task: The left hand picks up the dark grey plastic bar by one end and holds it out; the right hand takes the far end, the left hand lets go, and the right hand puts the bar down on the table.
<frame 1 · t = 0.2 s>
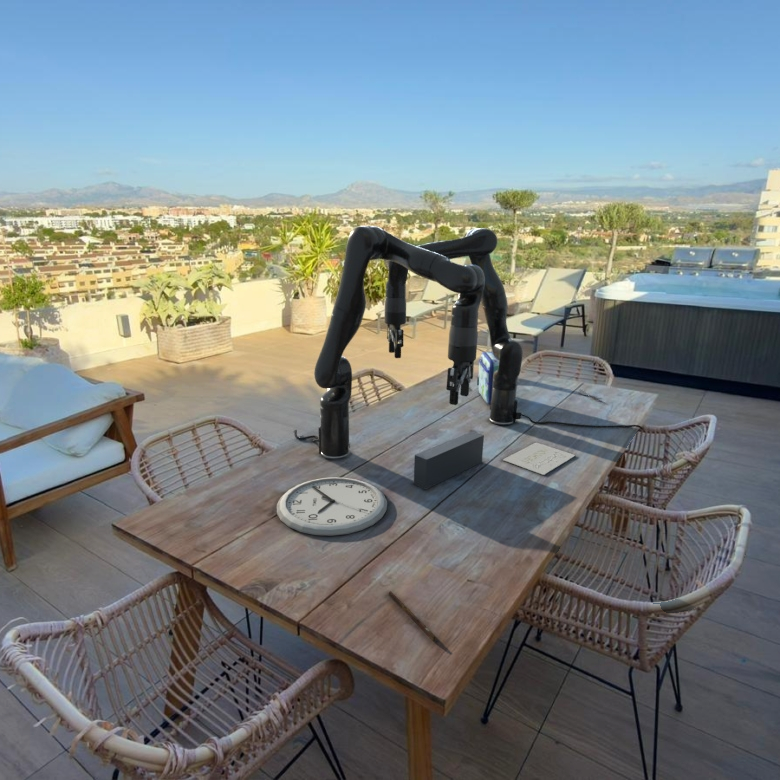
left hand: (459, 399, 143), 28 cm above the table, tool pointing down, fingers open, 8 cm apart
right hand: (394, 355, 187), 29 cm above the table, tool pointing down, fingers open, 8 cm apart
lunch box: (491, 399, 234), on the table
bar: (449, 472, 163), on the table
wall clock: (332, 505, 143), on the table
invitation card: (539, 458, 174), on the table
dark brown stick: (410, 617, 102), on the table
fork: (590, 397, 238), on the table
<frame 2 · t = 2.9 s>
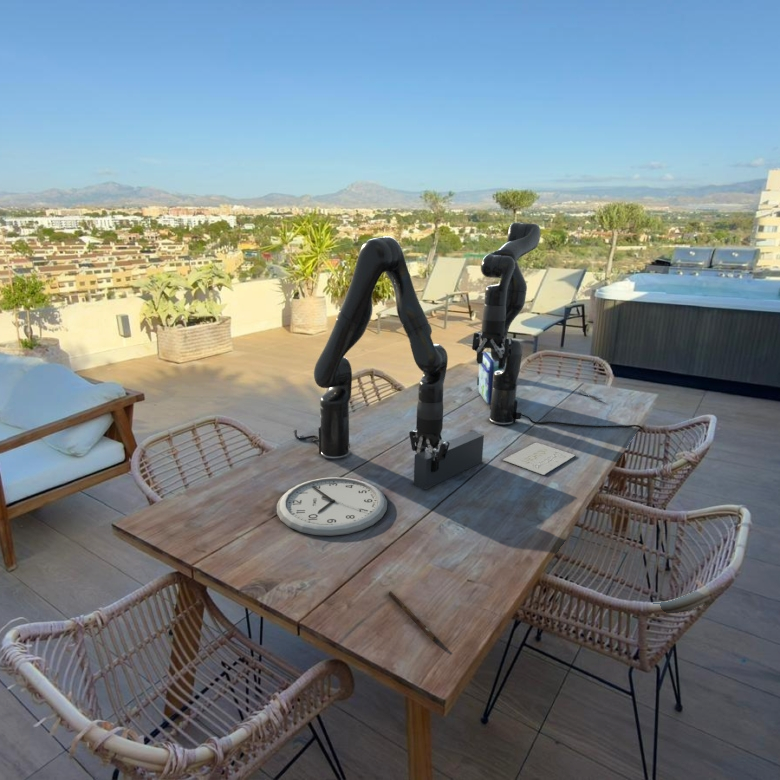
left hand: (427, 468, 155), 5 cm above the table, tool pointing down, fingers closed on bar, 4 cm apart
right hand: (490, 365, 176), 29 cm above the table, tool pointing down, fingers open, 8 cm apart
bar: (449, 472, 163), on the table, touching left hand
everything else where it was.
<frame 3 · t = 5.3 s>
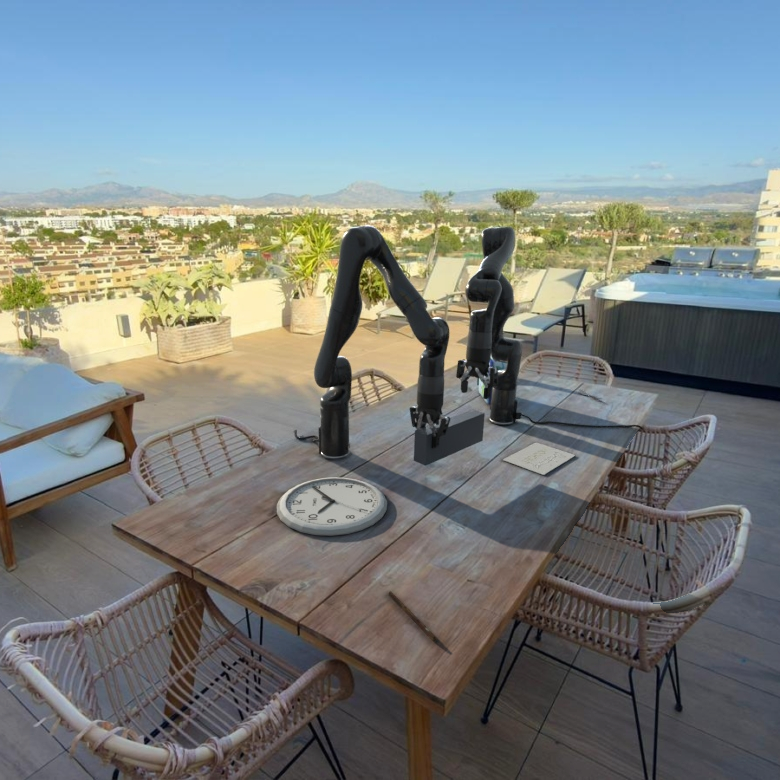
left hand: (427, 444, 153), 12 cm above the table, tool pointing down, fingers closed on bar, 4 cm apart
right hand: (475, 395, 165), 23 cm above the table, tool pointing down, fingers open, 8 cm apart
bar: (449, 450, 161), point 8 cm above the table, touching left hand
everything else where it was.
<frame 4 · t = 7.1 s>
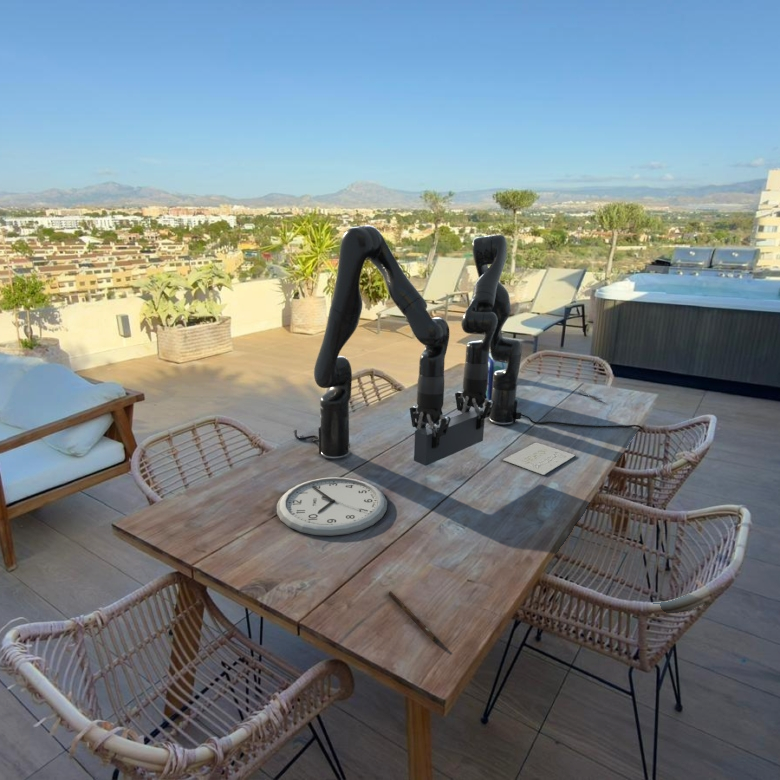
left hand: (428, 444, 152), 12 cm above the table, tool pointing down, fingers closed on bar, 4 cm apart
right hand: (472, 426, 167), 13 cm above the table, tool pointing down, fingers closed on bar, 4 cm apart
bar: (450, 450, 161), point 8 cm above the table, touching right hand, left hand
everything else where it was.
when the left hand's fingers open (12 cm above the table, at t = 8.1 s): bar stays where it is, held by the right hand.
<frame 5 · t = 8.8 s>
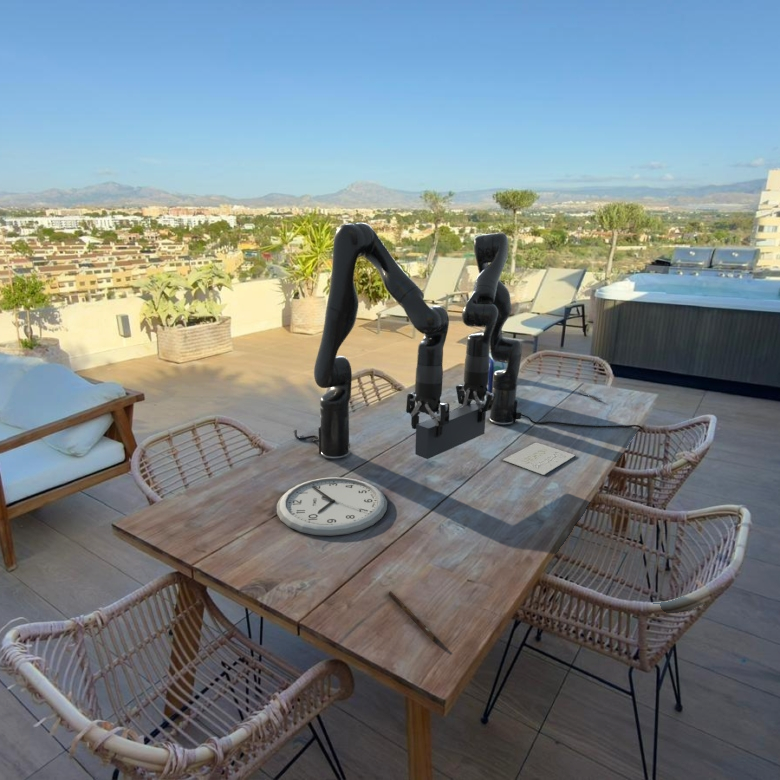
left hand: (426, 432, 151), 17 cm above the table, tool pointing down, fingers open, 8 cm apart
right hand: (473, 419, 166), 15 cm above the table, tool pointing down, fingers closed on bar, 4 cm apart
bar: (451, 443, 161), point 10 cm above the table, touching right hand
everything else where it was.
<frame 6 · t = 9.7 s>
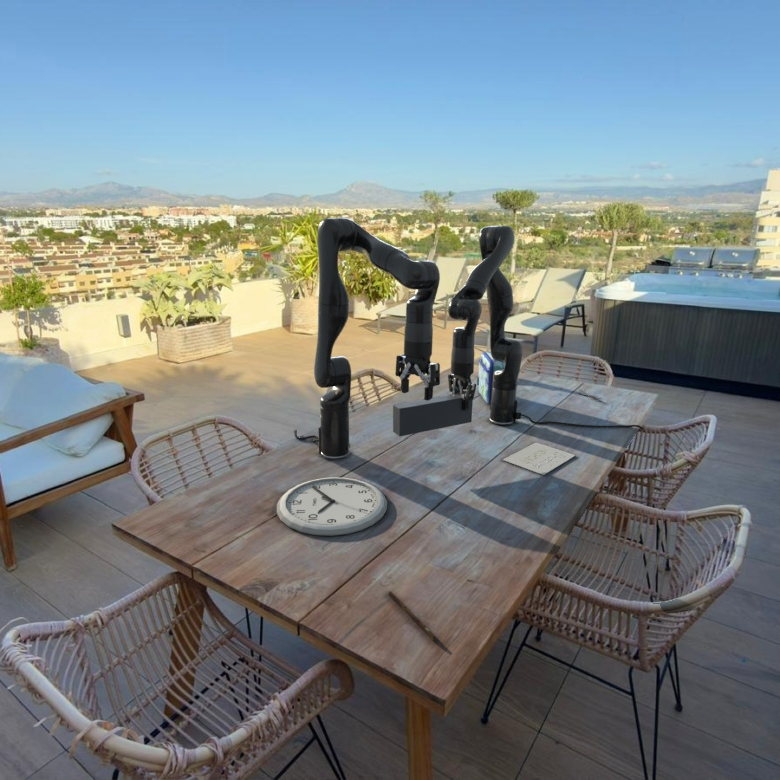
left hand: (416, 396, 144), 29 cm above the table, tool pointing down, fingers open, 8 cm apart
right hand: (460, 407, 177), 15 cm above the table, tool pointing down, fingers closed on bar, 4 cm apart
bar: (433, 426, 174), point 9 cm above the table, touching right hand
everything else where it was.
when the right hand's fingers open (7 cm above the table, at t = 12.7 s): bar drops 1 cm, on the table.
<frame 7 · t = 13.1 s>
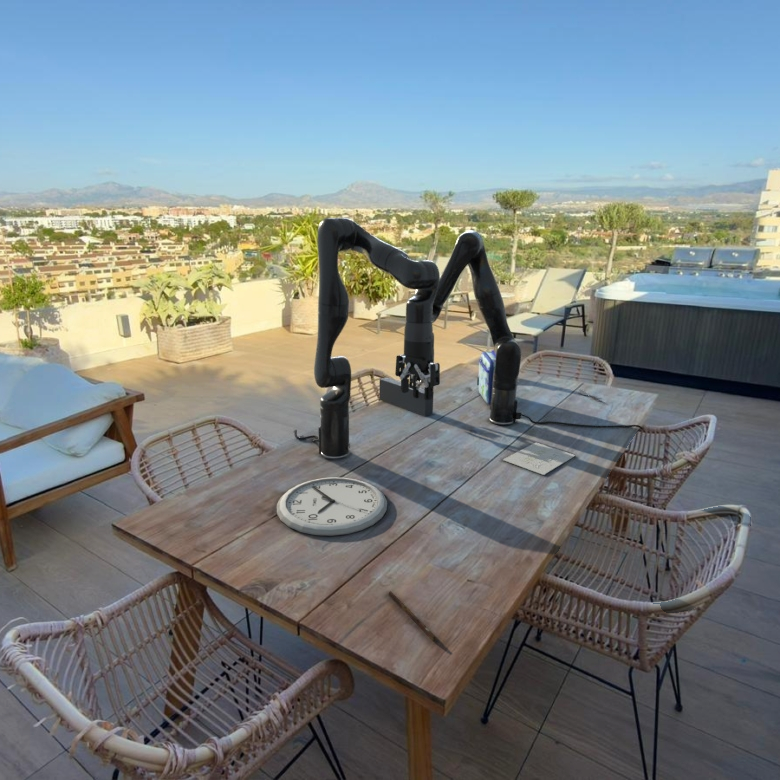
left hand: (416, 395, 144), 29 cm above the table, tool pointing down, fingers open, 8 cm apart
right hand: (423, 395, 213), 7 cm above the table, tool pointing down, fingers open, 8 cm apart
bar: (405, 406, 222), on the table
everything else where it was.
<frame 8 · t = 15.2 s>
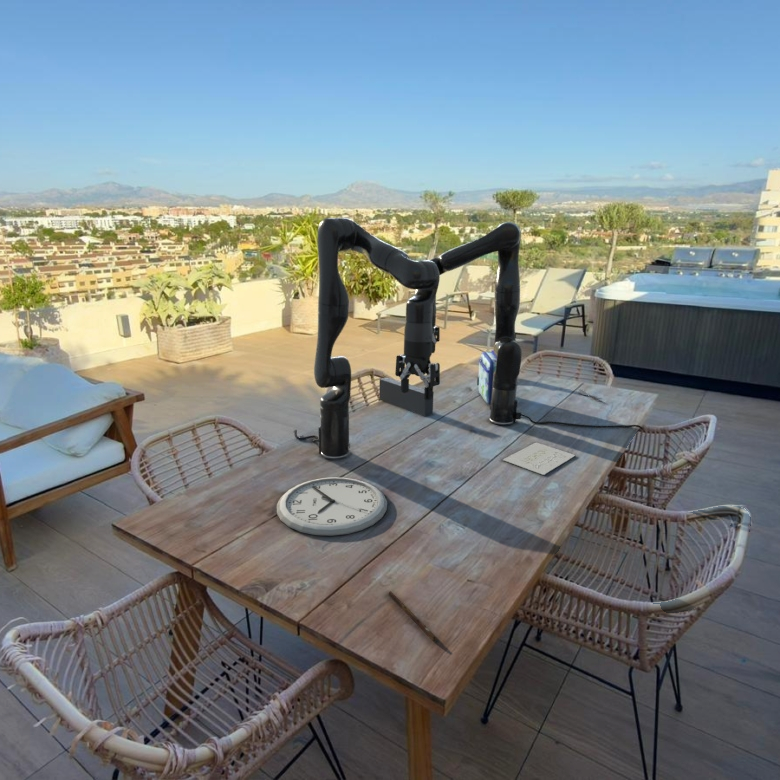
left hand: (416, 395, 144), 29 cm above the table, tool pointing down, fingers open, 8 cm apart
right hand: (424, 354, 208), 25 cm above the table, tool pointing down, fingers open, 8 cm apart
nothing on the table moved.
at the end: bar inside the target area (10.4 cm from its centre), on the table; the left hand is holding nothing; the right hand is holding nothing; bar at rest at the end (0.0 cm/s) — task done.
